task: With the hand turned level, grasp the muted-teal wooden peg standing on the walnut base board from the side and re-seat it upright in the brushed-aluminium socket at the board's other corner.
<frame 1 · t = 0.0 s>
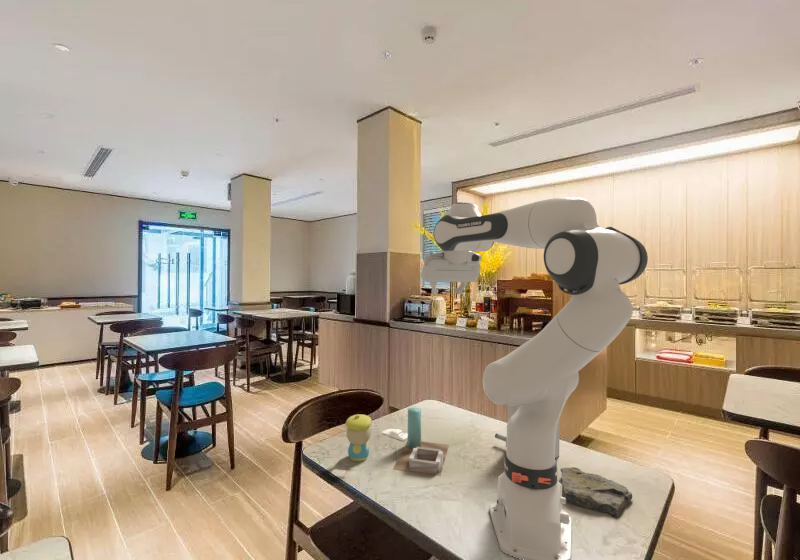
hand: (446, 293, 123), 52 cm above the table, tool tilted 20°, fingers open, 8 cm apart
stone: (596, 497, 99), on the table
walnut board: (422, 460, 117), on the table
toy car: (395, 440, 133), on the table
teal peg: (414, 446, 124), point 1 cm above the table, touching walnut board
toy: (358, 462, 116), on the table
control panel: (520, 454, 122), on the table
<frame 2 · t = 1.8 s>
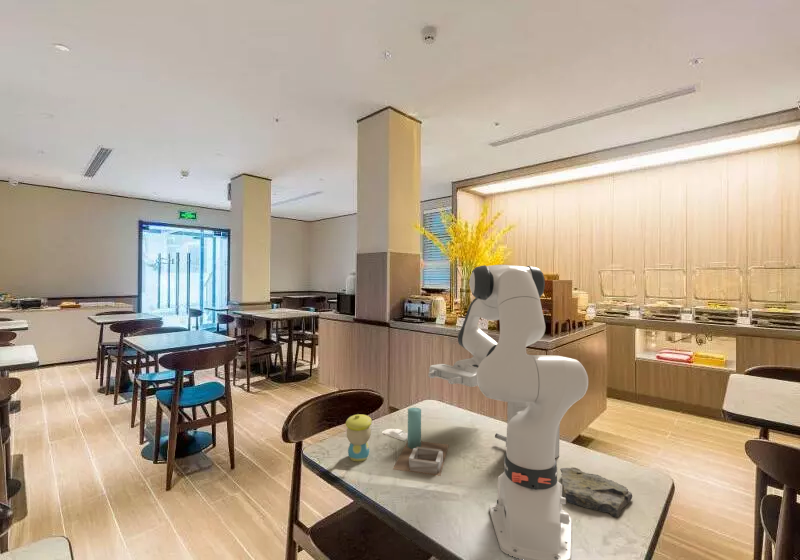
hand: (439, 378, 132), 22 cm above the table, tool horizontal, fingers open, 8 cm apart
nothing on the table moved.
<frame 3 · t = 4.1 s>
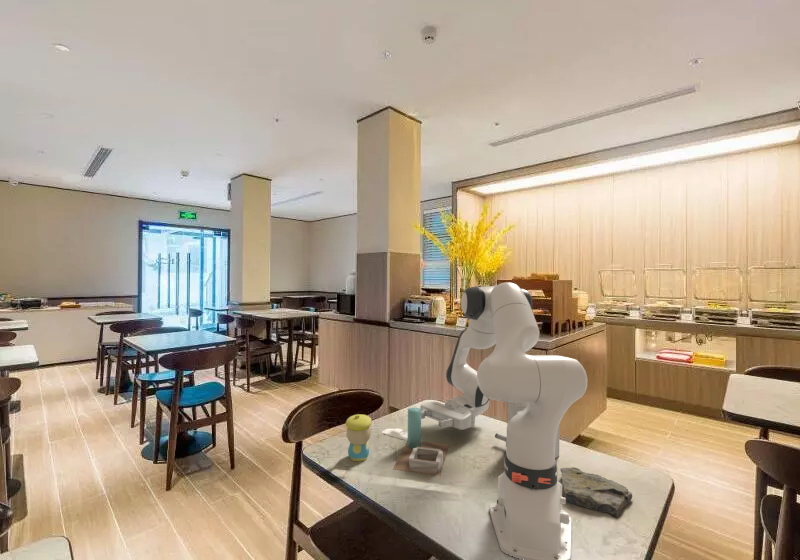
hand: (429, 420, 128), 8 cm above the table, tool horizontal, fingers open, 8 cm apart
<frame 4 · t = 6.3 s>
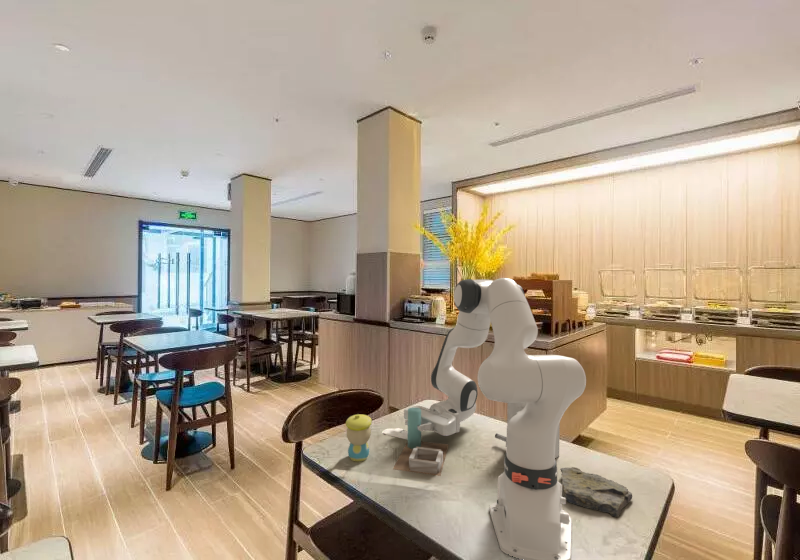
hand: (412, 425, 123), 9 cm above the table, tool horizontal, fingers closed on teal peg, 4 cm apart
teal peg: (414, 446, 124), point 1 cm above the table, touching gripper, walnut board
everything else where it was.
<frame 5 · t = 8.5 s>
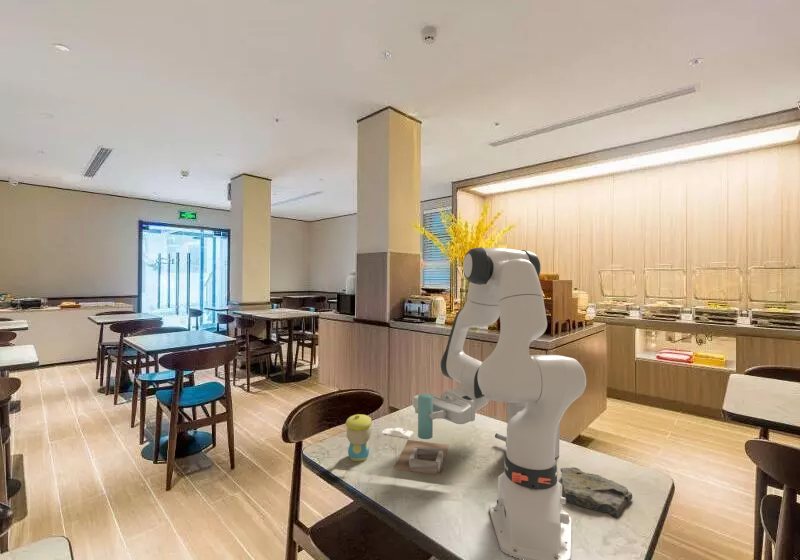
hand: (423, 413, 112), 17 cm above the table, tool horizontal, fingers closed on teal peg, 4 cm apart
teal peg: (425, 436, 113), point 10 cm above the table, touching gripper
when the fingers open (10 cm above the table, at t = 10.8 s): teal peg stays where it is, resting on walnut board.
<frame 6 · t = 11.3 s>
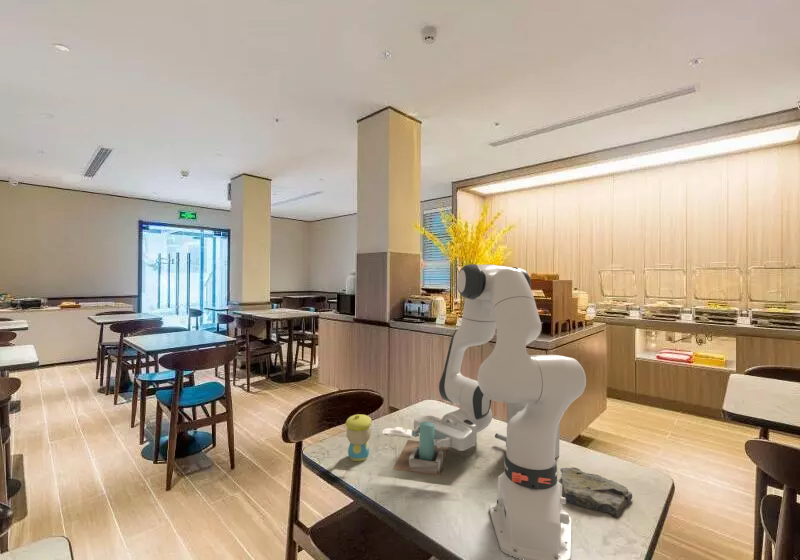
hand: (424, 438, 111), 9 cm above the table, tool horizontal, fingers open, 8 cm apart
teal peg: (426, 464, 112), point 2 cm above the table, touching walnut board
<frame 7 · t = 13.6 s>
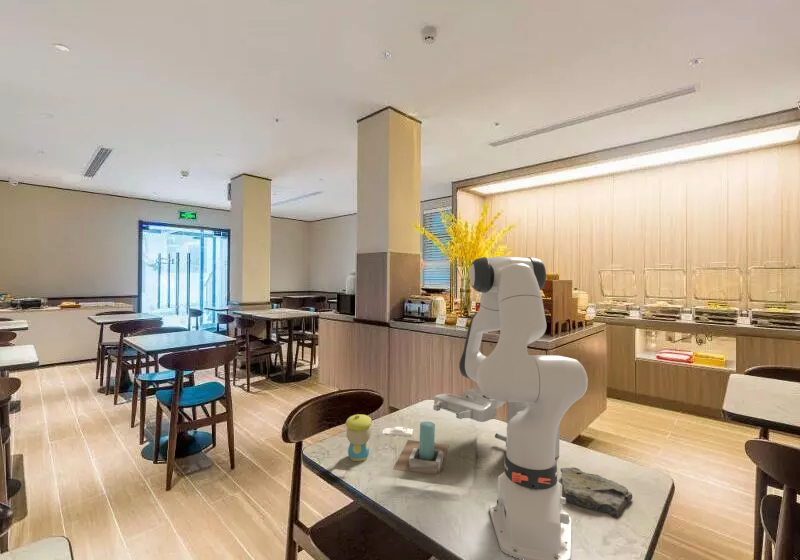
hand: (446, 411, 117), 15 cm above the table, tool horizontal, fingers open, 8 cm apart
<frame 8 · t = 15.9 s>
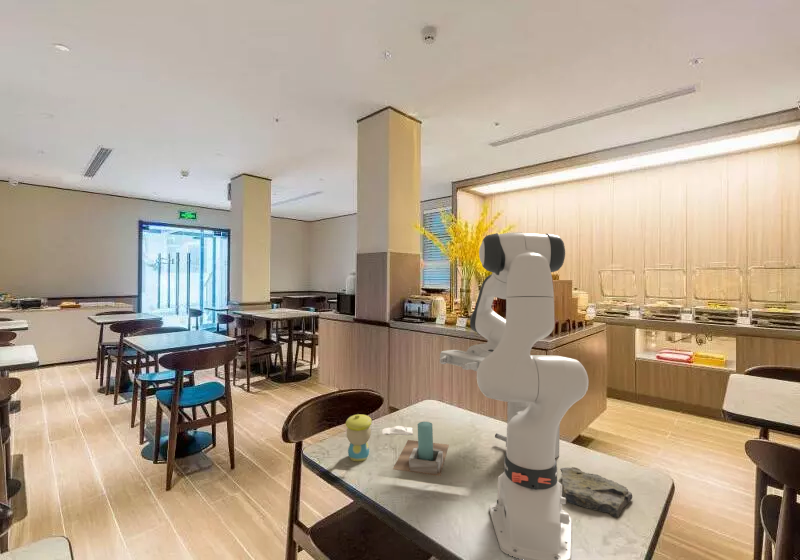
hand: (452, 364, 119), 30 cm above the table, tool horizontal, fingers open, 8 cm apart
at the end: teal peg 0.0 cm from the target spot on the walnut board, point 1.6 cm above the walnut board's base; teal peg tilted 2°; the gripper is holding nothing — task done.
